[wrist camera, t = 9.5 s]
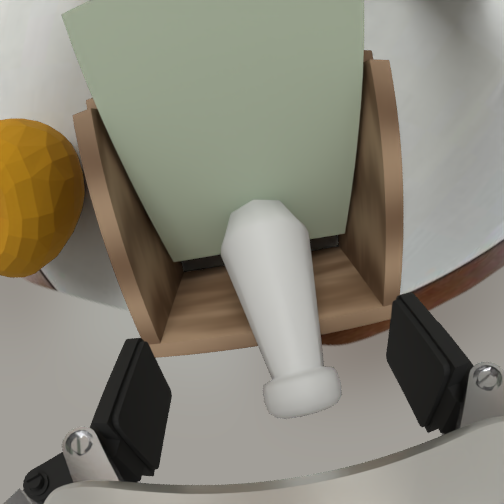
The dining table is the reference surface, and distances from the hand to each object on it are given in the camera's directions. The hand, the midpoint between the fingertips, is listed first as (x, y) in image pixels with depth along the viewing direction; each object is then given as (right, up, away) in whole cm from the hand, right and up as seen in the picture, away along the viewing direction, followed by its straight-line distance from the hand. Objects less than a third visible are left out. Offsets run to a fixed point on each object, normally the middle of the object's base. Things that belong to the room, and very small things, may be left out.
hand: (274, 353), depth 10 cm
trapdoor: (-2, +15, +10) cm, 18 cm away
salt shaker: (0, +6, +11) cm, 12 cm away
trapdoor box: (-1, +10, +15) cm, 18 cm away
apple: (-20, +11, +14) cm, 27 cm away
